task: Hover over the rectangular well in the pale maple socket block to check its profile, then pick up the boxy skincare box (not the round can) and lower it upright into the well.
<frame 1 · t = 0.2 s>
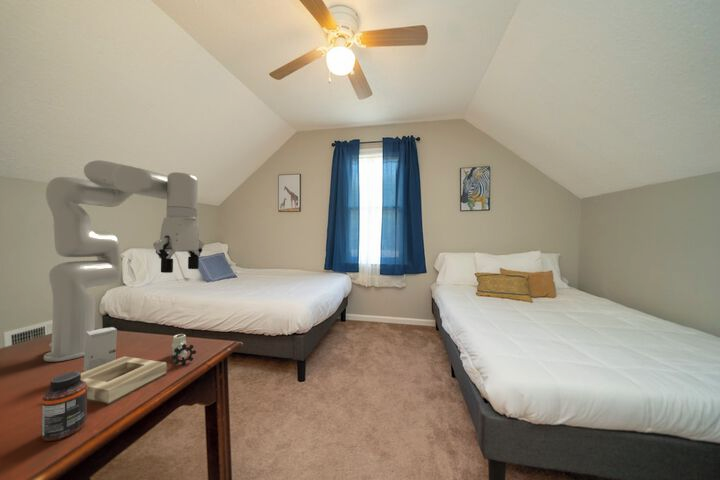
hand: (180, 270, 74), 30 cm above the table, tool pointing down, fingers open, 9 cm apart
valve: (180, 359, 82), on the table
supplement bottle: (64, 432, 50), on the table
socket block: (117, 384, 67), on the table
skincare box: (99, 371, 74), on the table
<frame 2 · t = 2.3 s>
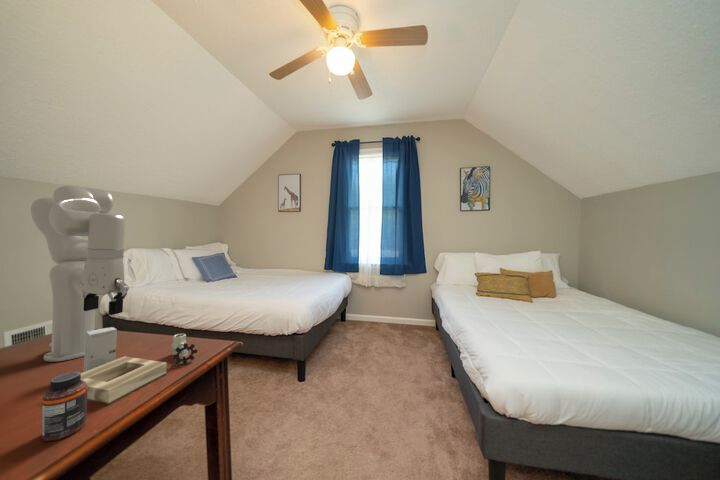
hand: (103, 311, 73), 18 cm above the table, tool pointing down, fingers open, 9 cm apart
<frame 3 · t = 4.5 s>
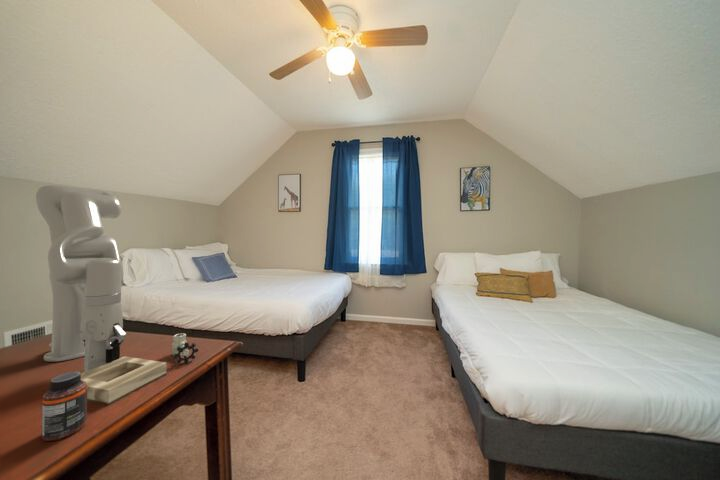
hand: (102, 359, 73), 4 cm above the table, tool pointing down, fingers open, 7 cm apart
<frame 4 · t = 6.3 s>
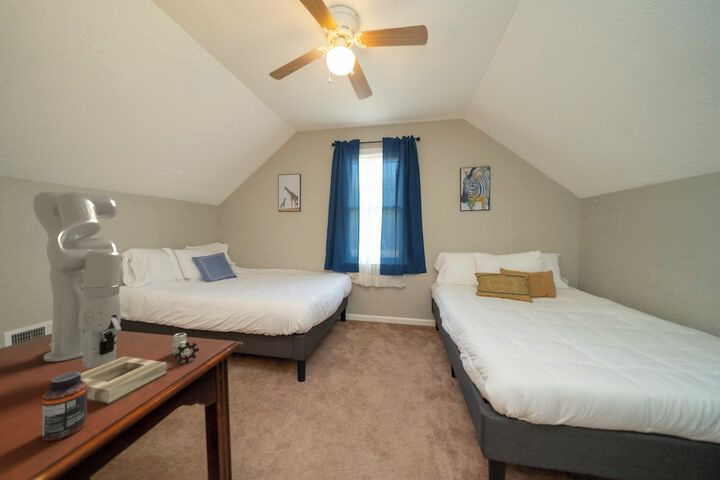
hand: (99, 351, 74), 6 cm above the table, tool pointing down, fingers closed on skincare box, 4 cm apart
skincare box: (99, 363, 74), point 2 cm above the table, touching gripper
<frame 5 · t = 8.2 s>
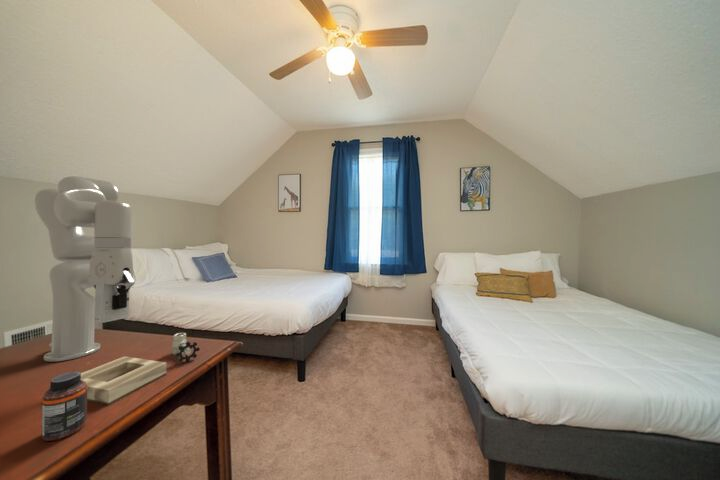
hand: (112, 307, 70), 20 cm above the table, tool pointing down, fingers closed on skincare box, 4 cm apart
skincare box: (112, 320, 70), point 16 cm above the table, touching gripper
when the fingers open (4 cm above the table, at t = 11.4 s): skincare box stays where it is, resting on socket block.
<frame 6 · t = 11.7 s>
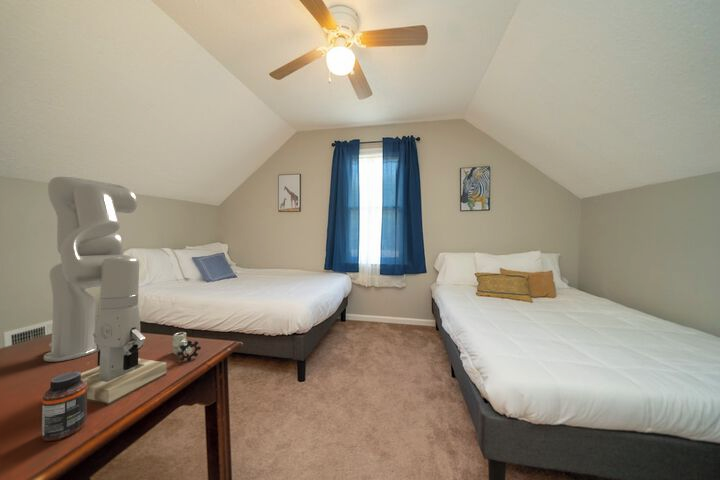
hand: (117, 365, 67), 5 cm above the table, tool pointing down, fingers open, 8 cm apart
skincare box: (117, 382, 67), resting on socket block
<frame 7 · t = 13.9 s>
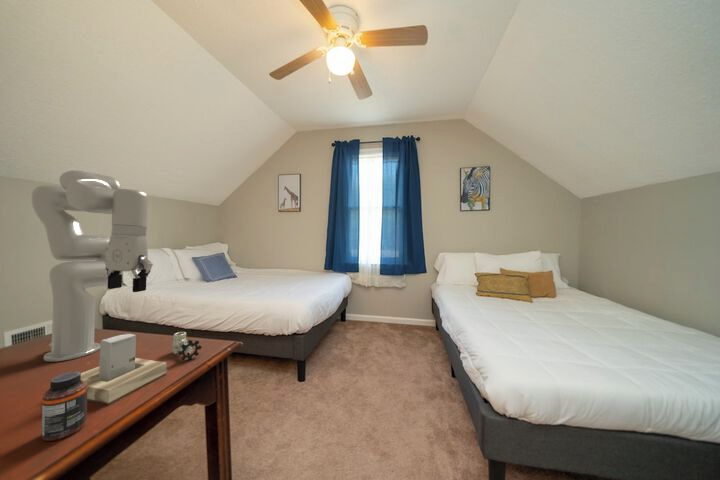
hand: (126, 289, 72), 25 cm above the table, tool pointing down, fingers open, 9 cm apart
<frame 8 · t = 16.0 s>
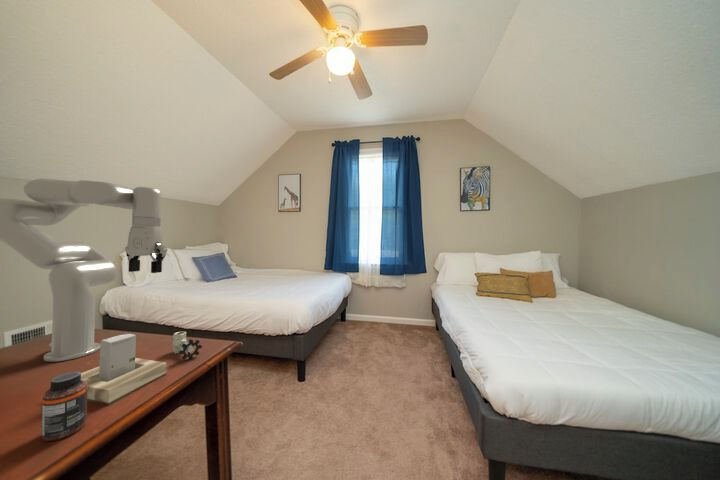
hand: (145, 272, 86), 28 cm above the table, tool pointing down, fingers open, 9 cm apart
at the end: skincare box inside the target area on the socket block (0.4 cm from its centre), point 0.3 cm above the socket block's base; skincare box tilted 0°; the gripper is holding nothing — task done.
